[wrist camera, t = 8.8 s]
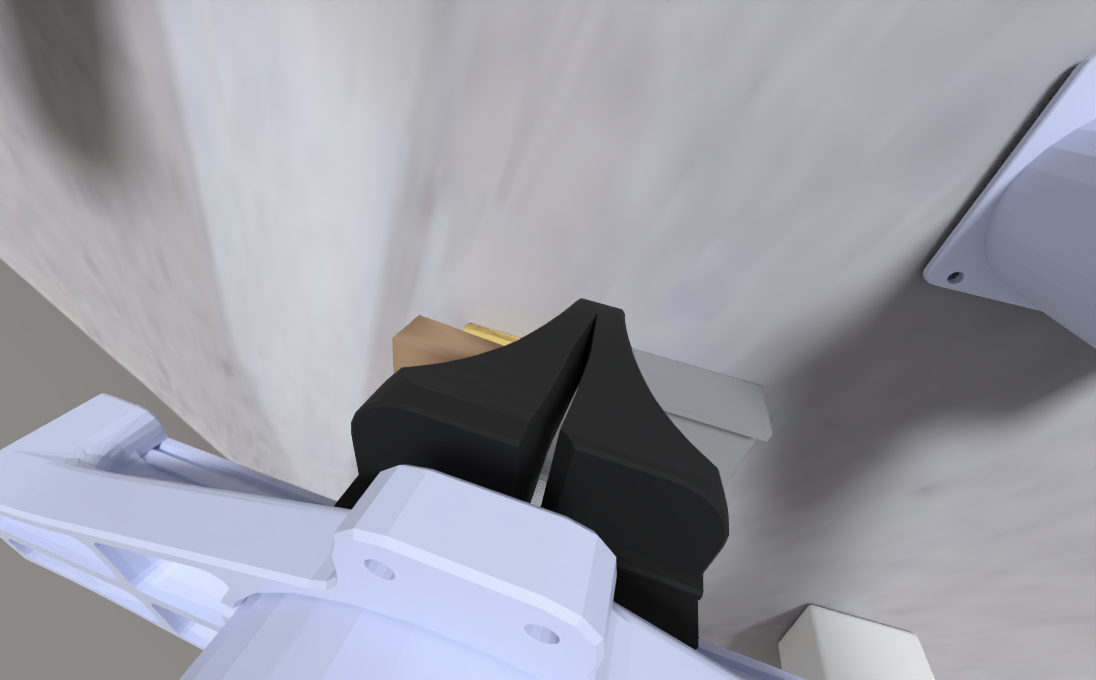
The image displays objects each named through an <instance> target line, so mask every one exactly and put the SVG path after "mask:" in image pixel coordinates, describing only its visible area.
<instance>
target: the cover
mask: <svg viewBox="0 0 1096 680" xmlns="http://www.w3.org/2000/svg"><path fill="white" fill-rule="evenodd" d="M500 347H503V345H501V344H498V343H495V342H492V341H490V340H487V339H484V338H481V337H479V336H476V335H473V334H470V333H468V332H465V331H462V330H459V329H457V328H454V327H451V326H448V325H446V324H443V323H440V322H437V321H435V320H432V319H429V318H426V317H423V316H421V315H419V316H418V317H417V318H415V319H414V320H413V321H412V322H411V323H410V324H408V325H407V326H406V327H405V328H404V329H403V330H401V331H400V332H399V333H398V334H397V335H396V336H395V337H393V366H394V374H395V373H396V372H397V371H398V370H399V369H400V368H401V367H411V366H420V365H428V364H436V363H443V362H448V361H453V360H458V359H463V358H467V357H471V356H475V355H478V354H481V353H484V352H487V351H491V350H494V349H497V348H500Z"/></svg>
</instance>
